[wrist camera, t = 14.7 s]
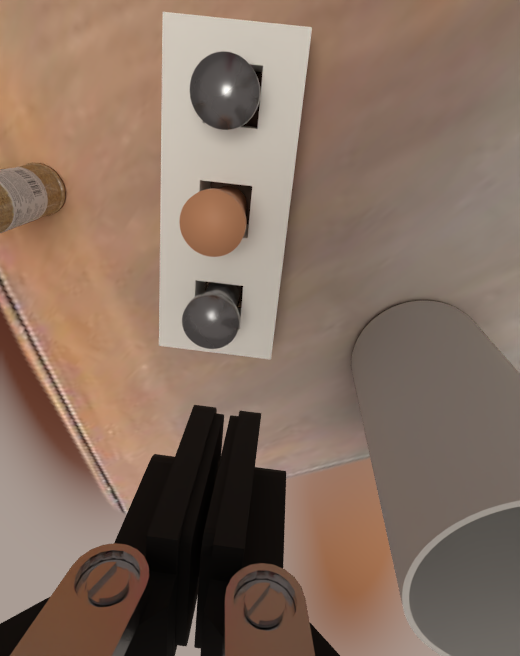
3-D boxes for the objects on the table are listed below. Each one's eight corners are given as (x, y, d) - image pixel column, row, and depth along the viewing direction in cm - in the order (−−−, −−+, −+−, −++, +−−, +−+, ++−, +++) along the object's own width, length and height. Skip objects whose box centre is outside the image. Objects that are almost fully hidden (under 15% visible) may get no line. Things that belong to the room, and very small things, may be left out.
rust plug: (257, 180, 37) (248, 194, 30) (252, 234, 39) (242, 260, 32) (203, 173, 37) (180, 186, 30) (200, 228, 39) (178, 252, 32)
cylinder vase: (339, 401, 48) (376, 653, 25) (366, 288, 43) (443, 477, 20) (459, 419, 48) (606, 690, 25) (500, 308, 43) (732, 521, 20)
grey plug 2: (250, 269, 42) (240, 300, 35) (246, 313, 44) (236, 352, 37) (202, 263, 42) (182, 293, 35) (200, 308, 44) (181, 345, 37)
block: (310, 39, 35) (312, 27, 31) (273, 335, 46) (270, 359, 41) (180, 25, 36) (162, 11, 31) (172, 323, 46) (158, 345, 41)
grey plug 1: (269, 68, 36) (262, 55, 28) (263, 131, 37) (255, 133, 30) (212, 62, 36) (191, 47, 28) (209, 125, 37) (188, 126, 30)
